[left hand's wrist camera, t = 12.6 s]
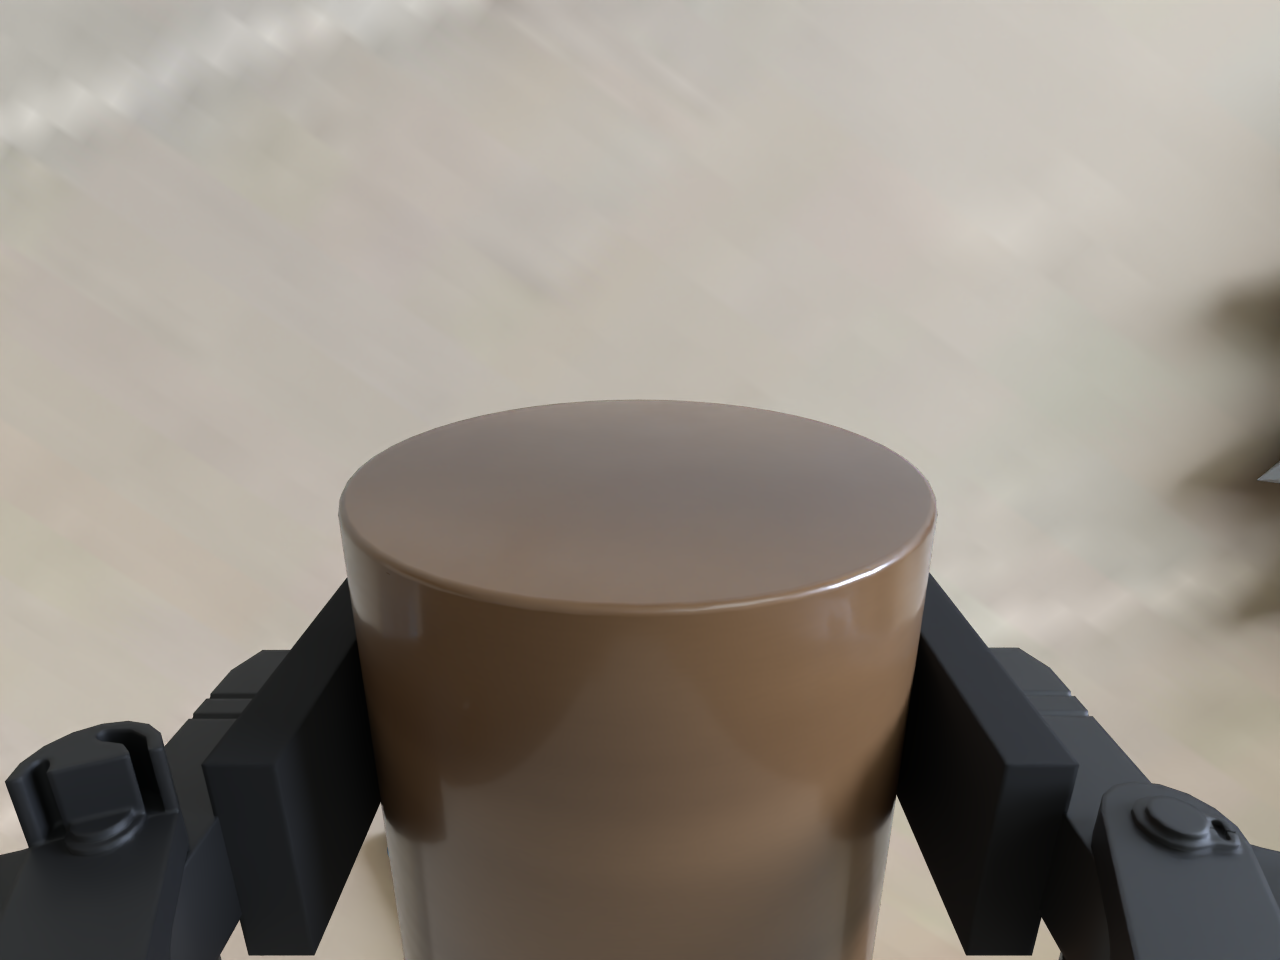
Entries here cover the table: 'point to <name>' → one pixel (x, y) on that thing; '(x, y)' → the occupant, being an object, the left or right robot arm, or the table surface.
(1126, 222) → the table surface
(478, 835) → the rod
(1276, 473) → the decorative piece
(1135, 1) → the table surface
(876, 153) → the table surface
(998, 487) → the table surface
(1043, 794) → the left robot arm
